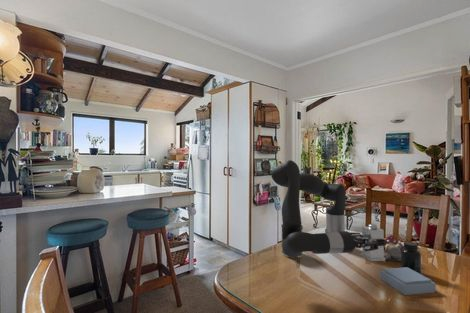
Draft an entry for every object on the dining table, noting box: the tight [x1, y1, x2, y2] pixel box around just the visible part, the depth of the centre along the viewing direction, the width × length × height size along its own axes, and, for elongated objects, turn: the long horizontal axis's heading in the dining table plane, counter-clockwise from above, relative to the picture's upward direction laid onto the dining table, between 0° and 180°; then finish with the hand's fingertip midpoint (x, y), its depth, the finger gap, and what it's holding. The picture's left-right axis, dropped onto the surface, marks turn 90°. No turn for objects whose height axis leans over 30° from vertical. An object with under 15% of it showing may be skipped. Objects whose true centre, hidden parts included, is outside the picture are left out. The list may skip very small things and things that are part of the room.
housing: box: [360, 223, 387, 262], centre depth 94 cm, size 6×6×12 cm
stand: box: [379, 267, 436, 296], centre depth 94 cm, size 12×12×4 cm
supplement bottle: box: [400, 241, 423, 275], centre depth 103 cm, size 7×7×12 cm
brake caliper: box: [382, 234, 404, 263], centre depth 117 cm, size 11×11×12 cm
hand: (379, 239), depth 95 cm, fingers closed on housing, 5 cm apart
